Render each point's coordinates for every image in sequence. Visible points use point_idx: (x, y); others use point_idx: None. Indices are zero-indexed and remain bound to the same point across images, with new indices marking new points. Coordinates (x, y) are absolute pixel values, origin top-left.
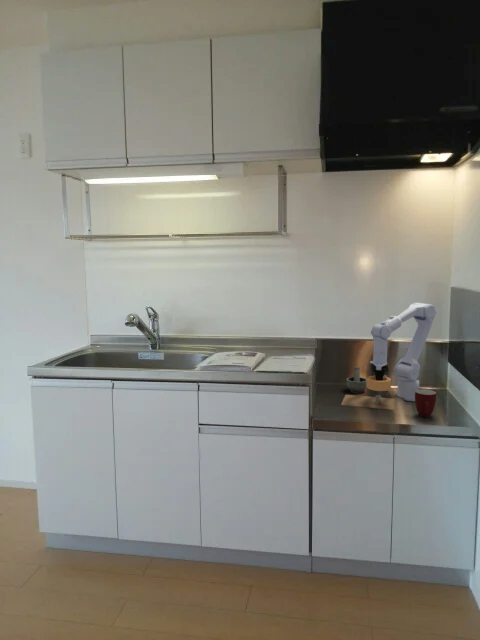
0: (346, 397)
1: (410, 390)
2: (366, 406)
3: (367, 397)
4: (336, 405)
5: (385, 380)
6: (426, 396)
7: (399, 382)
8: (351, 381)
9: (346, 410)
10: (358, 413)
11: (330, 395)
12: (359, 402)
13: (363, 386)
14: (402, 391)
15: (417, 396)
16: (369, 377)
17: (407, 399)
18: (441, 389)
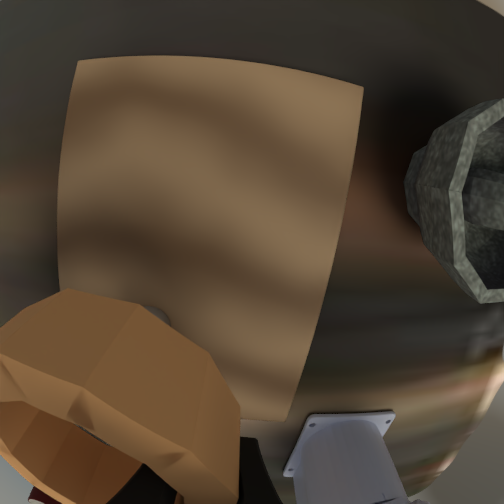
0: (276, 82)
1: (305, 495)
2: (68, 238)
3: (301, 261)
4: (129, 32)
5: (50, 488)
6: (34, 501)
7: (346, 498)
8: (467, 131)
9: (41, 110)
10: (10, 186)
11: (373, 4)
12: (145, 187)
13: (432, 252)
14: (315, 469)
15: (36, 487)
16: (69, 411)
17: (299, 452)
18: (424, 488)
